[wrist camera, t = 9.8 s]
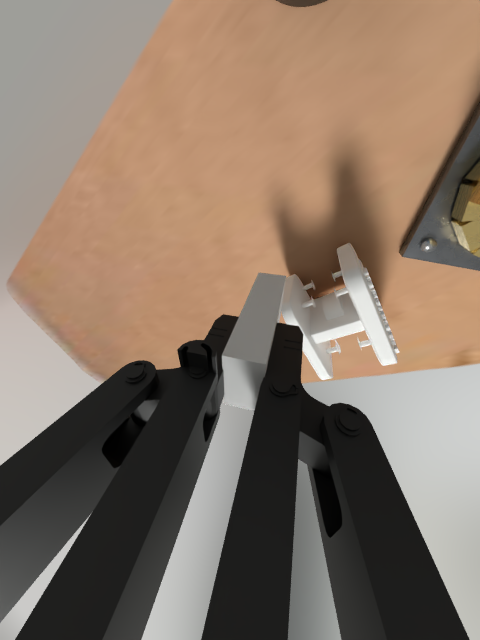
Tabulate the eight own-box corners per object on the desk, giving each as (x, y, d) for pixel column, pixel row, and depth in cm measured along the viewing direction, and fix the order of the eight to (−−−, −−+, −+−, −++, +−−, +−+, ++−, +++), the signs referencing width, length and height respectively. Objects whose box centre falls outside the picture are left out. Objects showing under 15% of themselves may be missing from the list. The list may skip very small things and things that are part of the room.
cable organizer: (283, 268, 38) (273, 306, 28) (352, 235, 32) (367, 269, 23) (320, 336, 43) (322, 386, 34) (384, 317, 38) (406, 370, 29)
